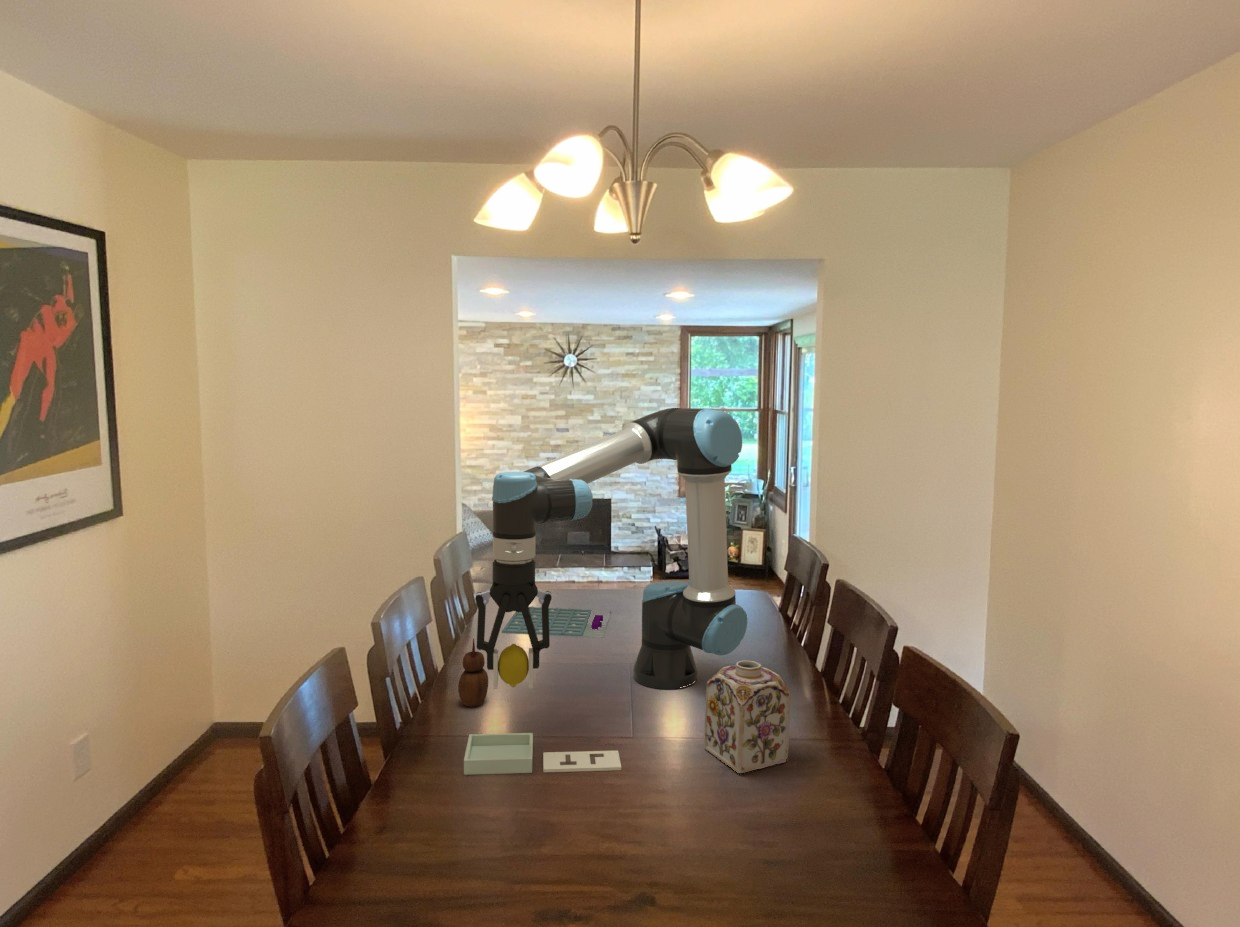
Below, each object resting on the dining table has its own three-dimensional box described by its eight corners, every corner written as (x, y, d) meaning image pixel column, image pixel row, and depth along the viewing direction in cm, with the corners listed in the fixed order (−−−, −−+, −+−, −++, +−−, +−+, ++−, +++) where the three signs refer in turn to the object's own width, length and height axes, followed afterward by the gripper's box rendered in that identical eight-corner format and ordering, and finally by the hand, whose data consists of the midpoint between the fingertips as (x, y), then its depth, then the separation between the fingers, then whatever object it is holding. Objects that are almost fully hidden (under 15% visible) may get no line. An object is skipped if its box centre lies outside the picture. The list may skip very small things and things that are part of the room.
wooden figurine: (480, 711, 164) (480, 642, 162) (454, 708, 165) (454, 639, 163) (491, 698, 170) (492, 632, 169) (467, 696, 171) (467, 630, 170)
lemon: (498, 681, 142) (498, 639, 141) (528, 680, 143) (529, 638, 142) (497, 693, 137) (497, 649, 136) (528, 692, 137) (529, 648, 137)
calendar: (521, 607, 243) (521, 600, 243) (612, 611, 241) (612, 604, 240) (501, 636, 216) (501, 627, 216) (603, 640, 214) (603, 631, 213)
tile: (617, 753, 146) (617, 749, 146) (621, 770, 140) (621, 766, 140) (543, 755, 145) (543, 751, 144) (543, 772, 138) (543, 768, 138)
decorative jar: (737, 776, 138) (741, 679, 137) (701, 749, 149) (704, 658, 147) (790, 763, 144) (794, 669, 142) (752, 737, 154) (755, 649, 152)
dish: (532, 745, 148) (532, 732, 148) (532, 772, 138) (532, 758, 138) (469, 747, 147) (469, 734, 147) (463, 774, 137) (463, 760, 137)
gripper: (459, 564, 132) (459, 695, 135) (567, 563, 135) (565, 692, 137) (462, 555, 140) (462, 679, 142) (565, 554, 142) (563, 676, 144)
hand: (513, 685), depth 140 cm, fingers closed on lemon, 5 cm apart
